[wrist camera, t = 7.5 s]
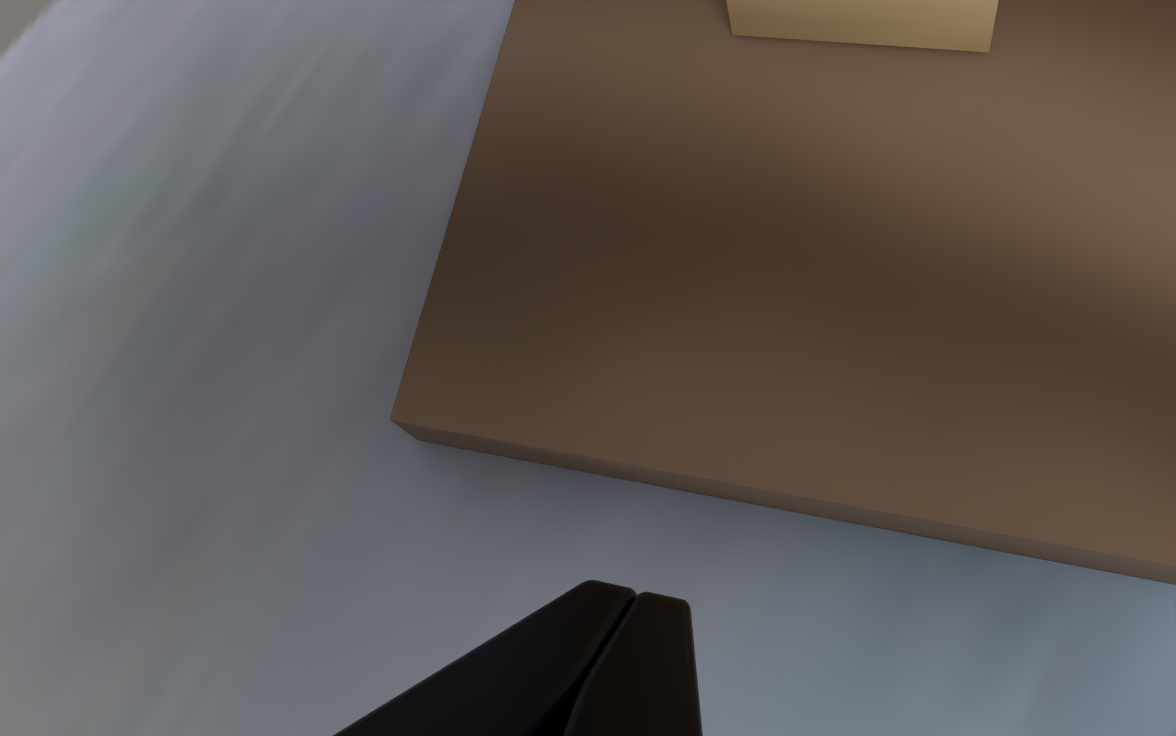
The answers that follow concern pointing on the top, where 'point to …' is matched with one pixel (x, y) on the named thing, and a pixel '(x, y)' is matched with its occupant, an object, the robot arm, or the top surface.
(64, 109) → the top surface
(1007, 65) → the walnut sill
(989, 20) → the pale yellow box
